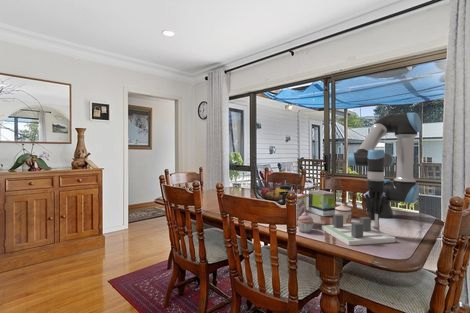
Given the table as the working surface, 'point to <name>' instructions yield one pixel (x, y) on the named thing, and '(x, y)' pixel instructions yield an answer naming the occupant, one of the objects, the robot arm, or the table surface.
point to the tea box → (322, 202)
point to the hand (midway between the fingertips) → (374, 226)
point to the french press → (284, 187)
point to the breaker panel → (347, 238)
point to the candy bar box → (301, 204)
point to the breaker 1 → (337, 220)
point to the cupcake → (305, 223)
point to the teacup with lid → (344, 213)
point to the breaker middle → (366, 223)
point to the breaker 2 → (357, 229)
